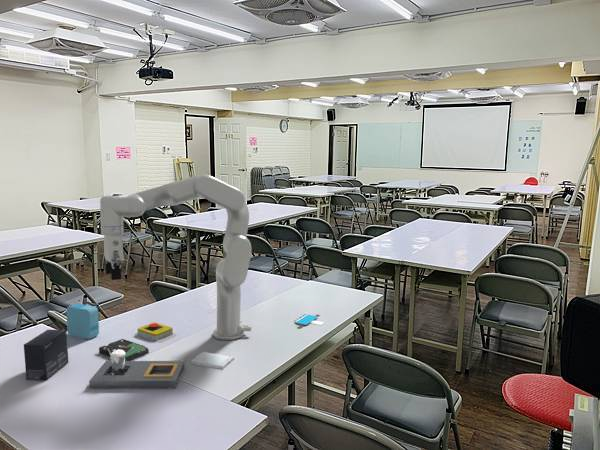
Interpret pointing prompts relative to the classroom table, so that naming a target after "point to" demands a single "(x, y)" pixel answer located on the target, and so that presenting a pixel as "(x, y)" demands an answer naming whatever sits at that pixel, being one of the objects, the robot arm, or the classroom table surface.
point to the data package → (82, 321)
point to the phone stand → (307, 320)
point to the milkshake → (118, 361)
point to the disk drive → (125, 349)
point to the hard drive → (212, 360)
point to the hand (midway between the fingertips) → (113, 276)
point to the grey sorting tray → (139, 375)
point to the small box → (46, 354)
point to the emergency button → (156, 332)
